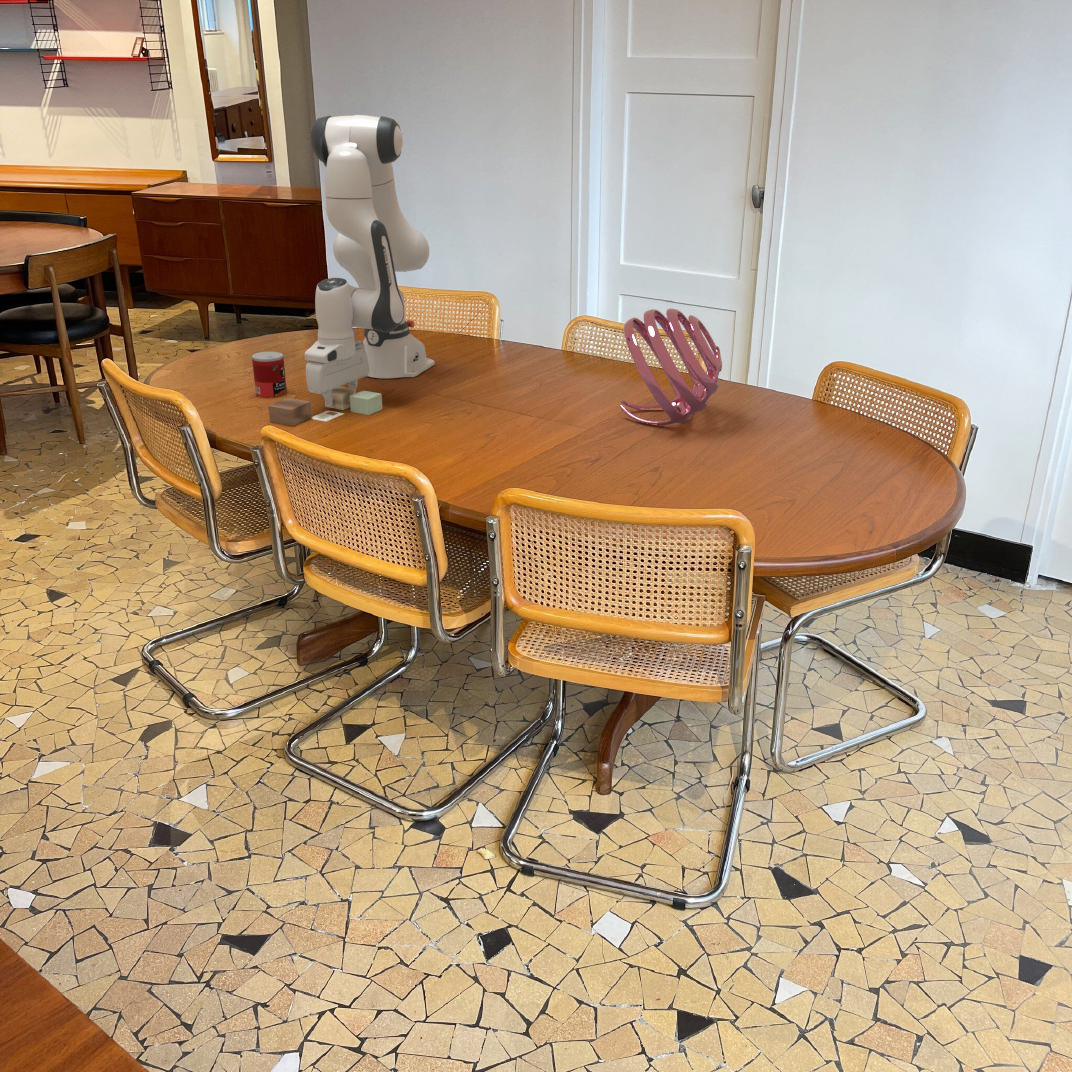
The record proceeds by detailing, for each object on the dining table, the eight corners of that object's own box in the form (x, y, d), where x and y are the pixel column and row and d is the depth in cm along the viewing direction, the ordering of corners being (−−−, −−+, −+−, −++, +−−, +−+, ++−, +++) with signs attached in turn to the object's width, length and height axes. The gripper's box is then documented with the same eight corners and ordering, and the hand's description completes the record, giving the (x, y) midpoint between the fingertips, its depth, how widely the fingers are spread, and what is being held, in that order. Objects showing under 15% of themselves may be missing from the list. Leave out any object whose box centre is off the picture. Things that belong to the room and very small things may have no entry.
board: (293, 405, 254) (293, 401, 253) (350, 416, 246) (349, 412, 245) (242, 425, 239) (242, 420, 239) (301, 438, 231) (300, 433, 231)
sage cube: (364, 409, 252) (363, 390, 249) (382, 413, 249) (381, 393, 247) (351, 415, 247) (349, 396, 245) (368, 419, 245) (367, 399, 243)
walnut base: (290, 413, 245) (288, 397, 243) (312, 417, 242) (310, 401, 240) (270, 421, 239) (268, 405, 238) (292, 426, 236) (290, 409, 235)
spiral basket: (571, 344, 234) (672, 282, 224) (603, 345, 260) (695, 290, 250) (627, 450, 234) (731, 393, 224) (653, 441, 260) (748, 389, 250)
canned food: (280, 402, 256) (275, 359, 252) (250, 400, 258) (246, 358, 253) (292, 393, 263) (288, 352, 258) (264, 391, 264) (259, 350, 260)
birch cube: (339, 404, 255) (338, 385, 253) (356, 408, 253) (355, 389, 251) (325, 410, 251) (324, 391, 249) (343, 414, 248) (341, 394, 246)
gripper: (353, 337, 255) (356, 389, 260) (299, 354, 238) (304, 410, 244) (373, 340, 252) (376, 393, 258) (320, 358, 236) (324, 414, 241)
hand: (341, 401), depth 251 cm, fingers open, 7 cm apart
